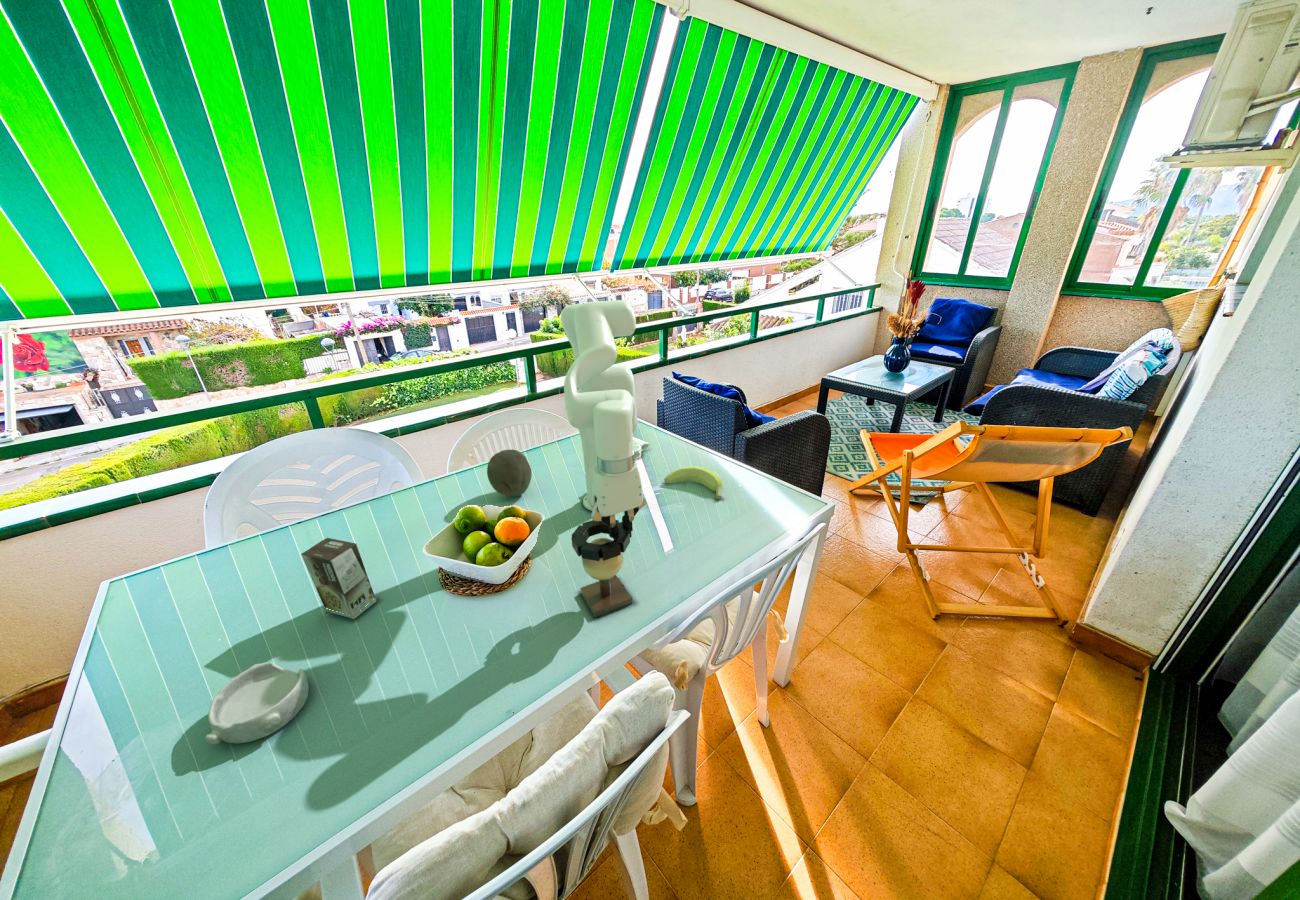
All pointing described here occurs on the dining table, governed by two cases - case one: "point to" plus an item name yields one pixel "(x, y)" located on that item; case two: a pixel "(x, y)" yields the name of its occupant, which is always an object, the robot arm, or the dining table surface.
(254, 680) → the dish
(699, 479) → the banana
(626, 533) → the ring
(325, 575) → the coffee box
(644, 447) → the white disc with holes
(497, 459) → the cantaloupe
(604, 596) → the ball stand
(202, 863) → the dining table surface
